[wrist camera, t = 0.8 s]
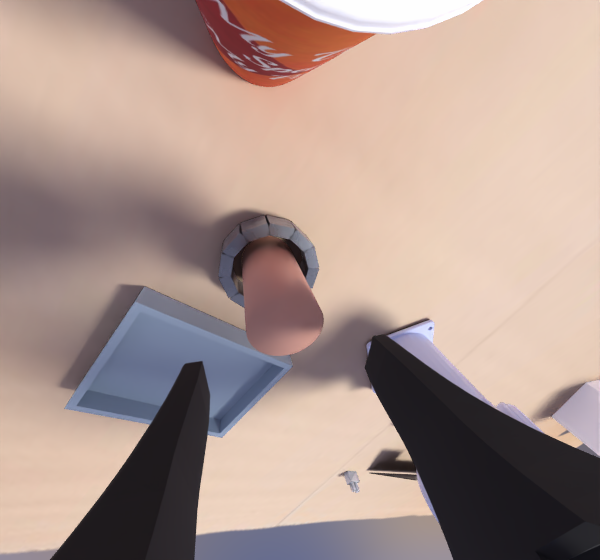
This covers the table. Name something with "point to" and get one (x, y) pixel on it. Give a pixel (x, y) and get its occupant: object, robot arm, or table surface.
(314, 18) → the paper cup
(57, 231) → the table surface
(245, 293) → the peg
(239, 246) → the sleeve
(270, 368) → the tray
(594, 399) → the milk
